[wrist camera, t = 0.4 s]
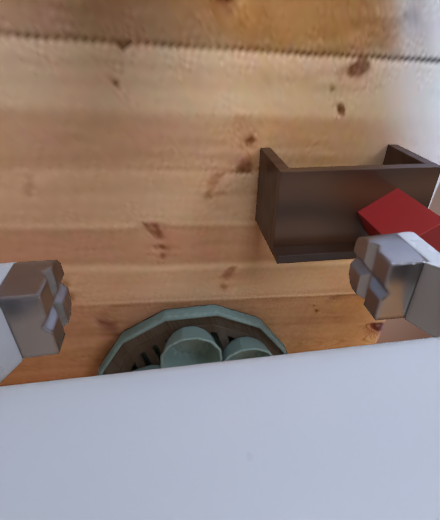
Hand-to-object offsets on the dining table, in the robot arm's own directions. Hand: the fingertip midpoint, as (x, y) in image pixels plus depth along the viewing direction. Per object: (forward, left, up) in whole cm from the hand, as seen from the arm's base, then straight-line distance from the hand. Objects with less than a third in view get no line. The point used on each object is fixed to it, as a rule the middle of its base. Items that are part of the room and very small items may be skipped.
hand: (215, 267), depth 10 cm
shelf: (+15, +24, -45) cm, 53 cm away
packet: (+15, +28, -34) cm, 47 cm away
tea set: (+57, +2, -45) cm, 73 cm away
